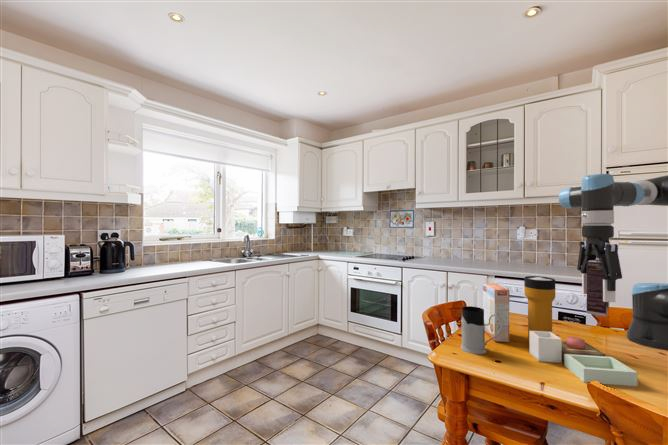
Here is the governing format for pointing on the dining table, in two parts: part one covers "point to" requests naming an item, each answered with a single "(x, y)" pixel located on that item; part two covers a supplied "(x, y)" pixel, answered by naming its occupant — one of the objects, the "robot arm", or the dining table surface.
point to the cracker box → (496, 311)
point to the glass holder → (474, 330)
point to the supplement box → (595, 289)
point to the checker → (580, 351)
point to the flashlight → (539, 302)
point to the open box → (545, 346)
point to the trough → (600, 369)
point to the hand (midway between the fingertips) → (597, 297)
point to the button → (575, 343)
